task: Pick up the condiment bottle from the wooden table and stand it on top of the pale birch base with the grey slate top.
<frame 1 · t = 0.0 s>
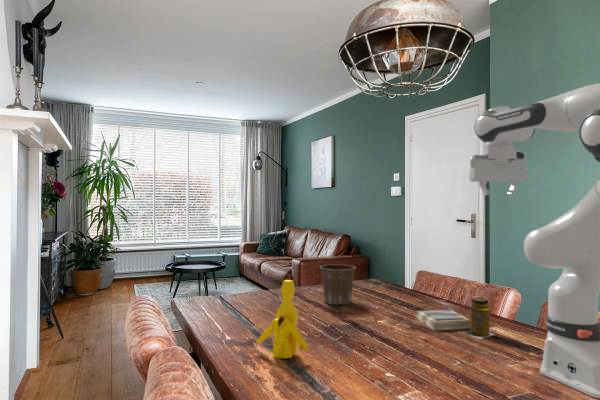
hand: (498, 195, 138), 48 cm above the table, tool pointing down, fingers open, 8 cm apart
figure statuette: (285, 355, 120), on the table
plant pot: (337, 302, 182), on the table
condiment: (477, 334, 138), on the table
base: (442, 323, 150), on the table
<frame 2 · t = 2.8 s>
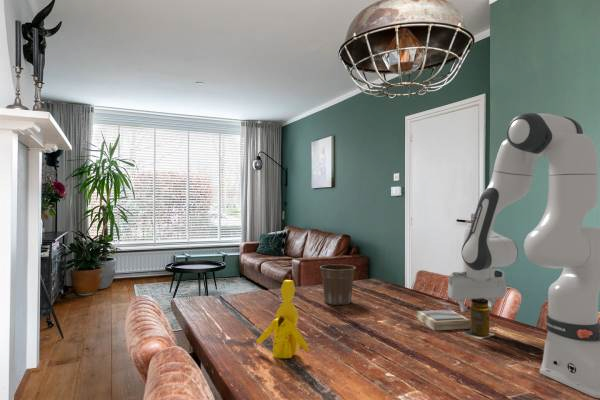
hand: (476, 311, 139), 8 cm above the table, tool pointing down, fingers open, 8 cm apart
condiment: (477, 334, 138), on the table, touching gripper
everything else where it was.
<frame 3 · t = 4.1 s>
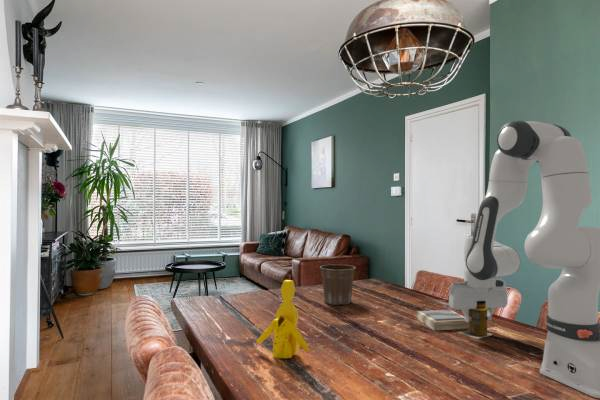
hand: (478, 321, 138), 4 cm above the table, tool pointing down, fingers closed on condiment, 6 cm apart
condiment: (475, 334, 138), on the table, touching gripper
everything else where it was.
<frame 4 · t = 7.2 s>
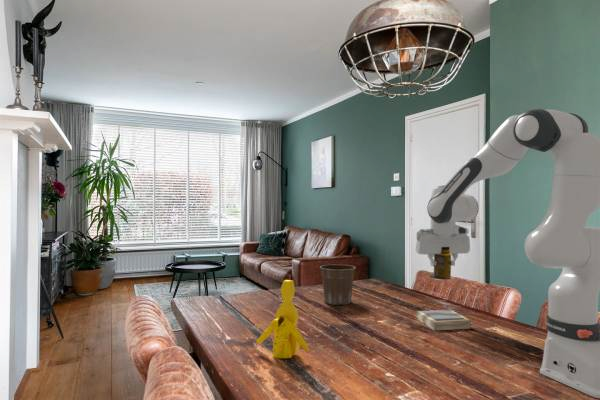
hand: (442, 265, 150), 22 cm above the table, tool pointing down, fingers closed on condiment, 6 cm apart
condiment: (440, 278, 150), point 17 cm above the table, touching gripper
everything else where it was.
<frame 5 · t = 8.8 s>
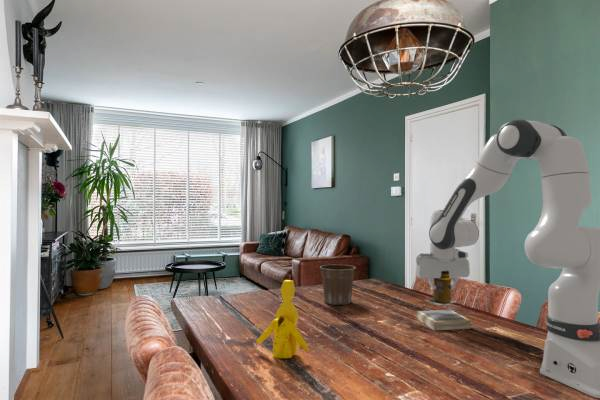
hand: (442, 289, 150), 13 cm above the table, tool pointing down, fingers closed on condiment, 6 cm apart
condiment: (440, 302, 150), point 8 cm above the table, touching gripper
everything else where it was.
when the fingers open (9 cm above the table, at t = 10.4 s): condiment drops 1 cm, resting on base.
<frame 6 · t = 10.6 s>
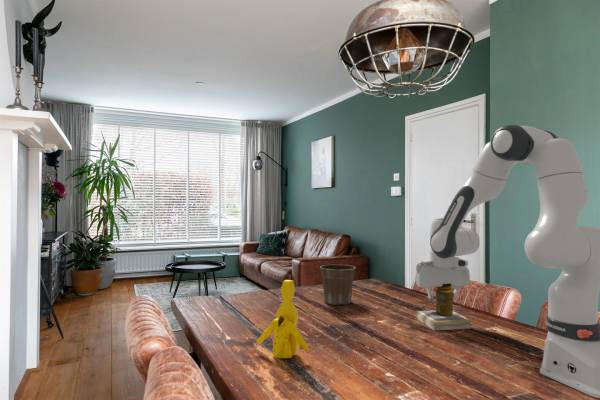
hand: (442, 298, 150), 10 cm above the table, tool pointing down, fingers open, 8 cm apart
condiment: (442, 315, 150), point 3 cm above the table, touching base
everything else where it was.
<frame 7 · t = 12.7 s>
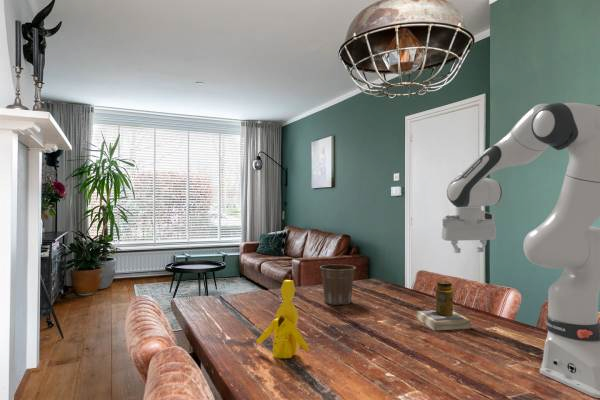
hand: (469, 252, 148), 27 cm above the table, tool pointing down, fingers open, 8 cm apart
nothing on the table moved.
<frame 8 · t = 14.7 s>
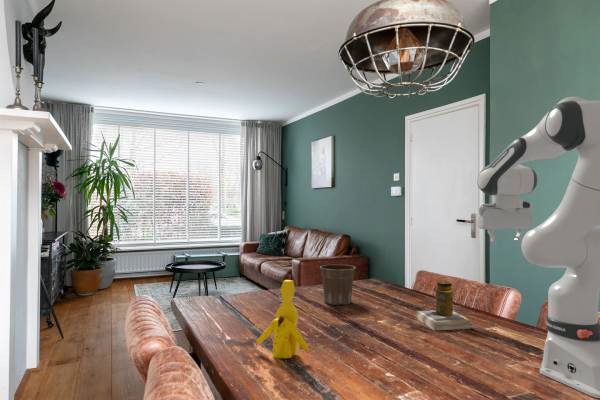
hand: (505, 241, 146), 31 cm above the table, tool pointing down, fingers open, 8 cm apart
nothing on the table moved.
at the end: condiment inside the target area on the base (0.2 cm from its centre), point 3.2 cm above the base's base; condiment tilted 0°; the gripper is holding nothing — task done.
